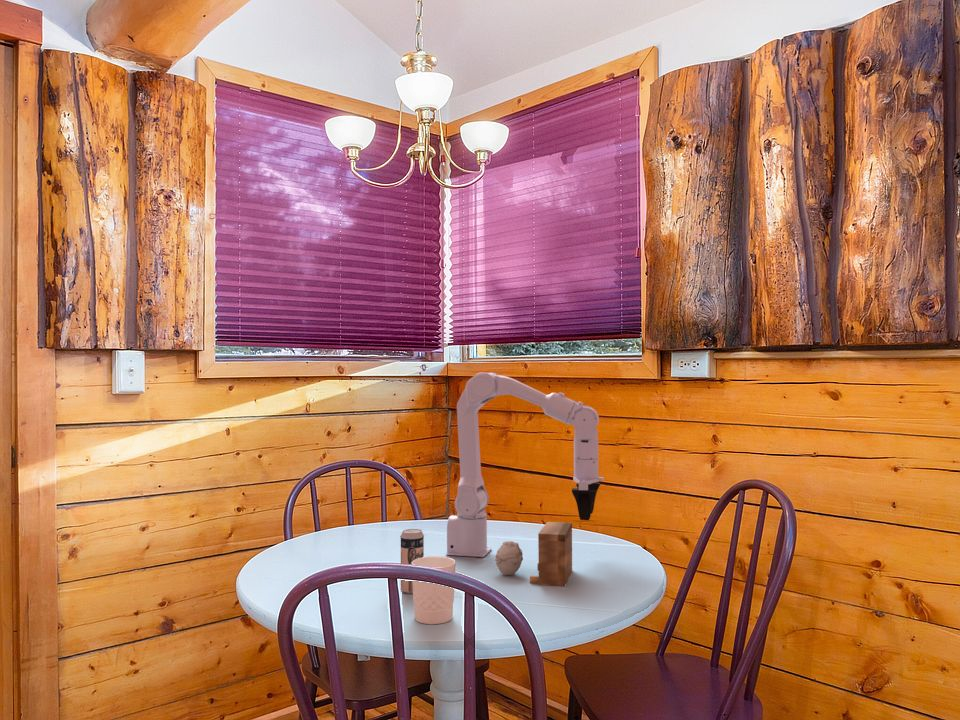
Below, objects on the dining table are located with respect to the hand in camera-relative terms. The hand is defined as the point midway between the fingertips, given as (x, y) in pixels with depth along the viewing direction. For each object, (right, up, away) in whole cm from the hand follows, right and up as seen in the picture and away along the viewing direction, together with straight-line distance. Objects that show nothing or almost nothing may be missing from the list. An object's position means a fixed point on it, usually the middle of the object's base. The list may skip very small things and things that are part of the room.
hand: (586, 516), depth 166 cm
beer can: (-39, -10, -23) cm, 46 cm away
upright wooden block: (-9, -10, -14) cm, 20 cm away
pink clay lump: (-19, -10, -12) cm, 24 cm away
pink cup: (-33, -10, -39) cm, 52 cm away
